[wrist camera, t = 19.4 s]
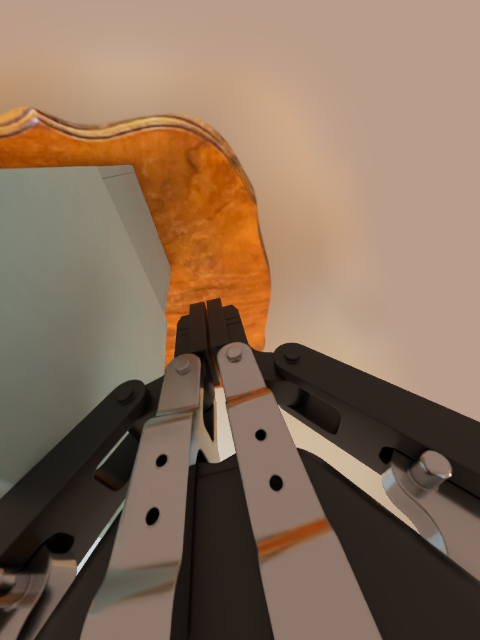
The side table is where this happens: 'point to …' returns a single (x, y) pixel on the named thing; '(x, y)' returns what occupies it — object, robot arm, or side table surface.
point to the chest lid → (66, 311)
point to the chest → (139, 226)
